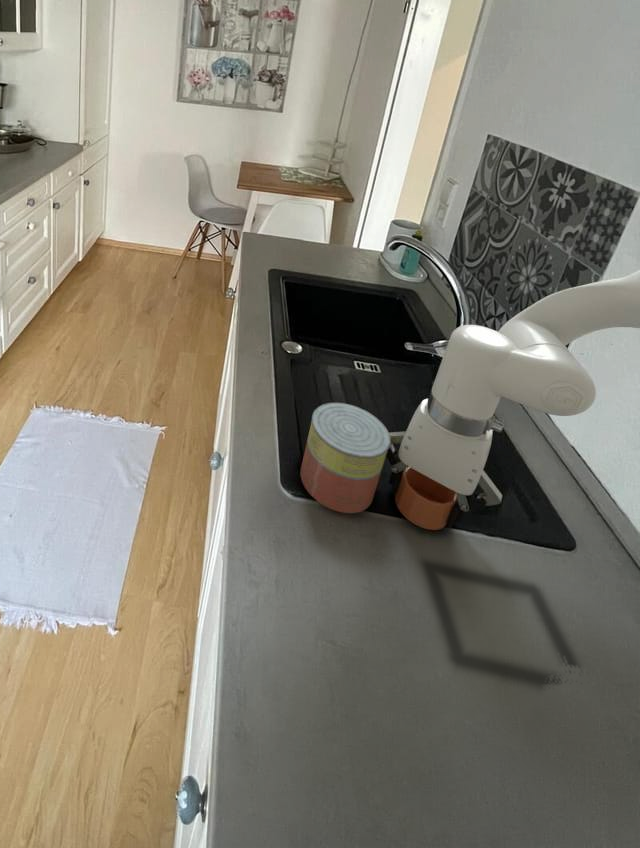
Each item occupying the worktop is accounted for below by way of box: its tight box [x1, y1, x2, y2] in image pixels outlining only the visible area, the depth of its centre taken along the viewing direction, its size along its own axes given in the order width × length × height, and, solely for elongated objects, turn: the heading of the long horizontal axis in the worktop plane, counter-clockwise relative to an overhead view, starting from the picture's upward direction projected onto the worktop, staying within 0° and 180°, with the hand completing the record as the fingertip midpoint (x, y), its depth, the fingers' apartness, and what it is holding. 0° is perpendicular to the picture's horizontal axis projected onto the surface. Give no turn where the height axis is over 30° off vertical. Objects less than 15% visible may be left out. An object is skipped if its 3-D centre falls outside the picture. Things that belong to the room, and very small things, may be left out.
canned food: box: [299, 402, 391, 514], centre depth 78 cm, size 11×11×12 cm
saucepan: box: [394, 467, 457, 531], centre depth 77 cm, size 13×7×5 cm, turn 139°
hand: (422, 504), depth 75 cm, fingers closed on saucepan, 7 cm apart
